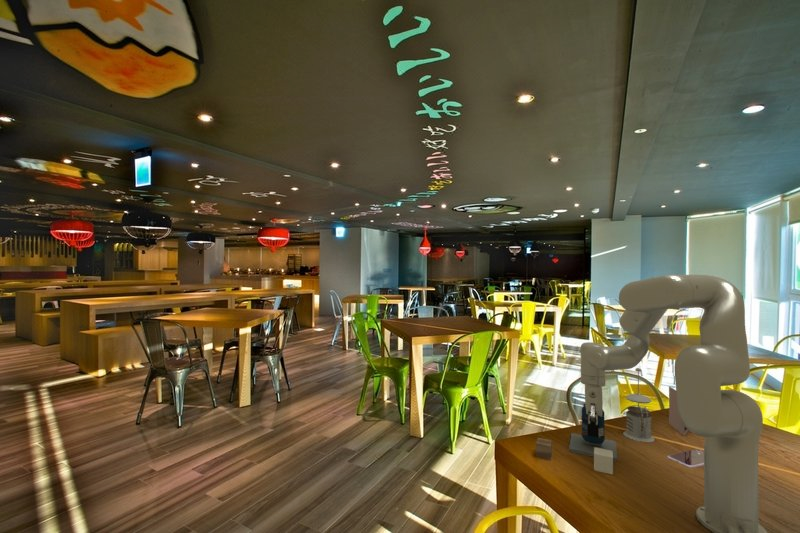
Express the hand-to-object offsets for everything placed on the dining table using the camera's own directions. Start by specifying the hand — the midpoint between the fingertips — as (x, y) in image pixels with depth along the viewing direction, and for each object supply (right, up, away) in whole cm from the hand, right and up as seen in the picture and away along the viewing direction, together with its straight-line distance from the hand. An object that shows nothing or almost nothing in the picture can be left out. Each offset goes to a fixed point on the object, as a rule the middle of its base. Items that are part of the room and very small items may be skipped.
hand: (593, 431), depth 127 cm
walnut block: (-19, -5, -6) cm, 21 cm away
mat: (0, -5, 0) cm, 5 cm away
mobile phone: (+29, -6, -7) cm, 30 cm away
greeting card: (+41, -7, +17) cm, 45 cm away
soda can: (0, -3, 0) cm, 3 cm away
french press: (+22, -6, +9) cm, 24 cm away
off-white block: (-4, -5, -14) cm, 15 cm away
